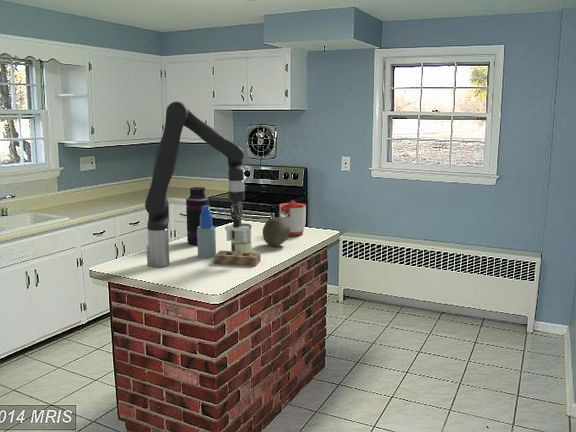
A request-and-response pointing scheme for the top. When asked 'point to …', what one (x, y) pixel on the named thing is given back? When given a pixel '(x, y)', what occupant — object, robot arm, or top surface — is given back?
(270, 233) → the cantaloupe
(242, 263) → the wooden block with holes
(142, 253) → the top surface
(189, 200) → the dark navy bottle
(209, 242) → the spray bottle
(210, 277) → the top surface
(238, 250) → the coffee can
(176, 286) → the top surface
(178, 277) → the top surface
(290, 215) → the citrus juicer
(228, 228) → the clip
